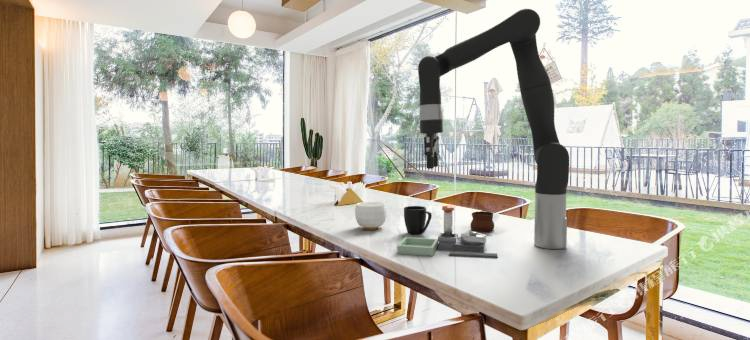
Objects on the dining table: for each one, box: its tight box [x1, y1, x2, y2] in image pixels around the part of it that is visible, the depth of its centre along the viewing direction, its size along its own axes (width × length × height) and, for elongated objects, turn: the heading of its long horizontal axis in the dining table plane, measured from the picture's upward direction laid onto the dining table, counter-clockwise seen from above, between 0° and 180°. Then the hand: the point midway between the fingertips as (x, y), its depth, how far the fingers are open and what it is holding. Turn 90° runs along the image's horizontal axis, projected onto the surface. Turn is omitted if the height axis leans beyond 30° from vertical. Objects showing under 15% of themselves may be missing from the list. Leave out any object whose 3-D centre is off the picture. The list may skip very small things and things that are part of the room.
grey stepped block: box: [437, 230, 487, 253], centre depth 133 cm, size 15×10×5 cm
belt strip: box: [448, 250, 498, 259], centre depth 123 cm, size 14×2×1 cm, turn 78°
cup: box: [354, 201, 387, 231], centre depth 162 cm, size 12×12×10 cm
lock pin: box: [441, 205, 455, 237], centre depth 134 cm, size 4×4×11 cm
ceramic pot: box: [470, 210, 495, 233], centre depth 156 cm, size 18×18×7 cm
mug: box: [403, 205, 433, 236], centre depth 151 cm, size 8×12×10 cm
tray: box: [396, 236, 439, 257], centre depth 130 cm, size 11×11×2 cm
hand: (432, 167), depth 138 cm, fingers open, 8 cm apart
